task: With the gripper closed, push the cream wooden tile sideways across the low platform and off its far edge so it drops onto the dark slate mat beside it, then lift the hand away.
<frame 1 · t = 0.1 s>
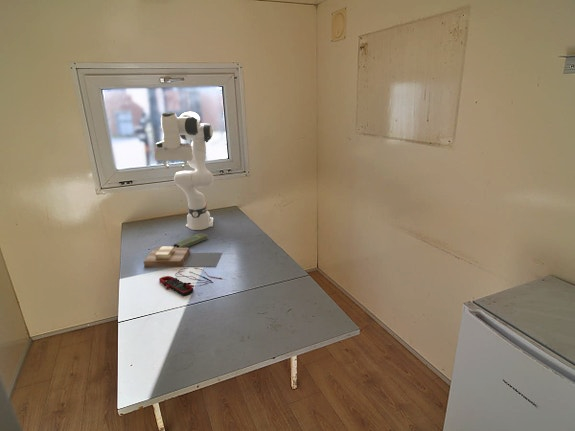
hand: (175, 168, 190), 48 cm above the table, tool pointing down, fingers open, 8 cm apart
digital clamp meter: (190, 282, 171), on the table
handheld radio: (184, 240, 211), point 2 cm above the table
mat: (202, 259, 191), on the table
platform: (168, 259, 191), on the table
tile: (165, 254, 190), point 3 cm above the table, touching platform
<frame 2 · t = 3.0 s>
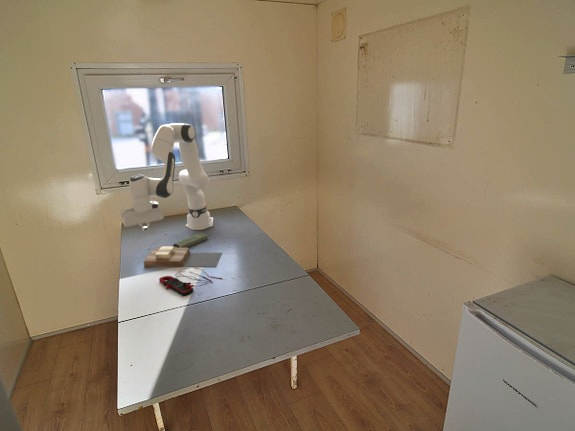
hand: (145, 230, 185), 18 cm above the table, tool pointing down, fingers closed
nothing on the table moved.
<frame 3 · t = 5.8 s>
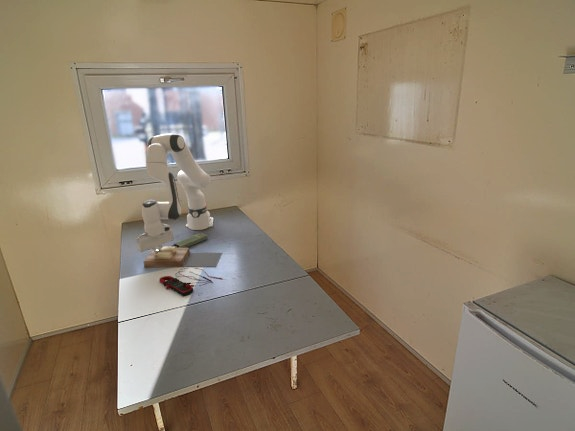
hand: (157, 252, 190), 4 cm above the table, tool pointing down, fingers closed
tile: (166, 254, 190), point 4 cm above the table, touching gripper
everything else where it was.
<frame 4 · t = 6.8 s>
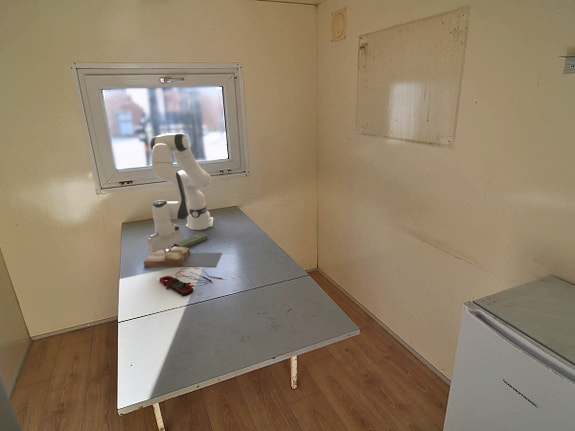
hand: (167, 252, 190), 4 cm above the table, tool pointing down, fingers closed
tile: (176, 254, 189), point 3 cm above the table, touching platform
everything else where it was.
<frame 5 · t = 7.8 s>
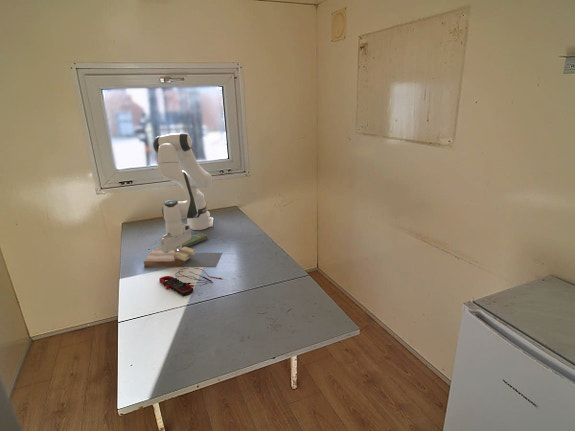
hand: (178, 252, 190), 4 cm above the table, tool pointing down, fingers closed
tile: (184, 255, 189), point 3 cm above the table, tilted 7°, touching gripper
everything else where it was.
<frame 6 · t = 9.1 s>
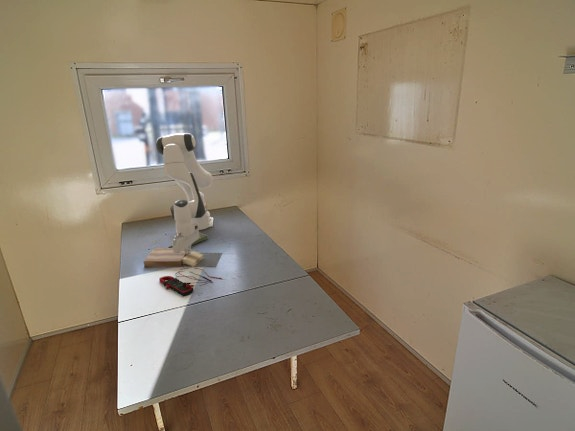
hand: (187, 252, 190), 4 cm above the table, tool pointing down, fingers closed
tile: (193, 260, 188), point 1 cm above the table, tilted 11°
everything else where it was.
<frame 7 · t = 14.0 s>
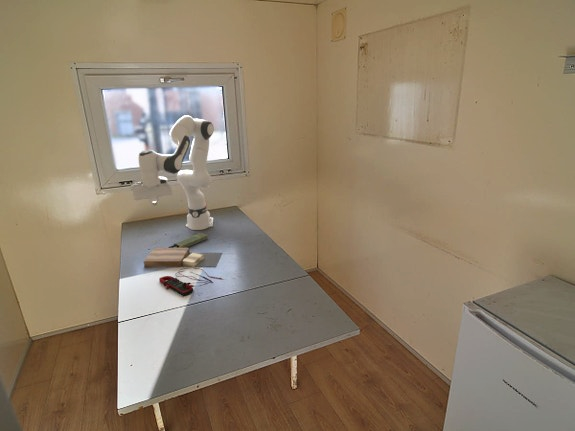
hand: (154, 204, 190), 29 cm above the table, tool pointing down, fingers closed
tile: (193, 261, 189), resting on mat
everything else where it was.
at the end: tile inside the target area (4.9 cm from its centre), resting on mat; tile touching mat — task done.
